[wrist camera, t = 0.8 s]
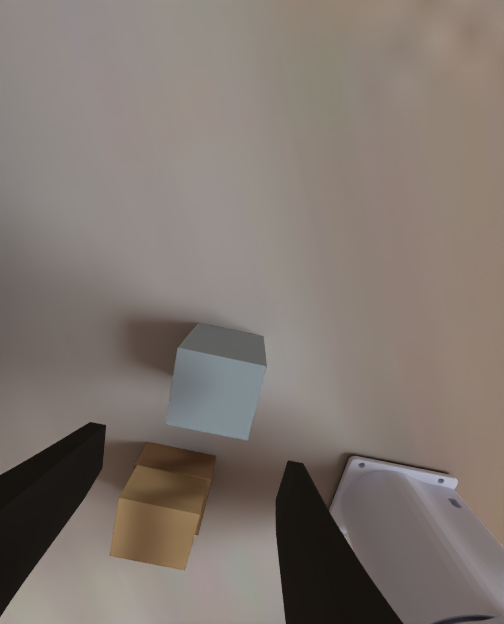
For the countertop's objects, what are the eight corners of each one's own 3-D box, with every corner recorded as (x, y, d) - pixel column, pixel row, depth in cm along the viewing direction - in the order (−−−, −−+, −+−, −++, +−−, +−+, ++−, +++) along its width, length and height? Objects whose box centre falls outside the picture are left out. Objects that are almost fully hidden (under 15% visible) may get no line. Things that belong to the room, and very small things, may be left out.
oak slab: (207, 480, 18) (200, 514, 16) (193, 531, 20) (184, 570, 17) (136, 465, 18) (118, 497, 16) (127, 518, 19) (109, 555, 17)
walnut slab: (216, 452, 21) (211, 479, 18) (204, 504, 22) (198, 535, 20) (148, 439, 21) (134, 463, 18) (140, 492, 22) (126, 522, 20)
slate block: (263, 336, 18) (266, 366, 13) (249, 393, 19) (247, 440, 14) (198, 322, 18) (177, 347, 13) (188, 380, 19) (165, 424, 14)
